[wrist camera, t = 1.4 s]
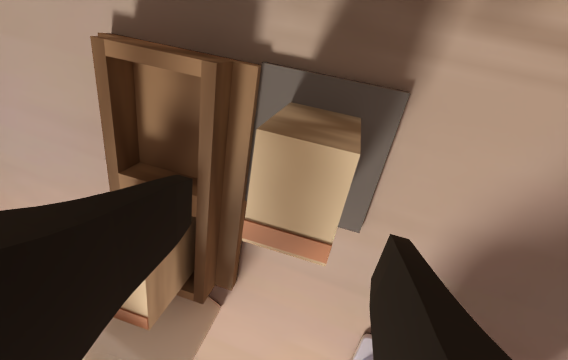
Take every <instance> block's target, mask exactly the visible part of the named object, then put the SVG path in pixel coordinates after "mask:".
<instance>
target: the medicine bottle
mask: <svg viewBox="0 0 568 360" xmlns="http://www.w3.org/2000/svg"><path fill="white" fill-rule="evenodd" d="M220 308H221V307H220V305H219V304H218V303H216V302H215V301H214V300H212V299H211V298H210V297H209V296H208V297H207V299H206V301H205V302H204V304H200V303H197V302H194V301H191V300H189V299H186V298H183V297H180V296H177V295H176V296H175V297H174V299H173V300H172V301H171V303H170V304H169V305H168V307H167V308H166V309H165V311H164V312H163V313H162V315H161V316H160V317H159V319H158V320H157V321H156V323H155V324H154V325H153V327H152V328H151V329H150V331H148V330H145V329H142V328H140V327H137V326H134V325H132V324H129V323H126V322H124V321H121V320H118V319H116V318H112V320H111V321H110V322H109V323H108V325H107V326H106V327H105V329H104V330H103V331H102V333H101V334H100V336H99V337H98V338H97V340H96V341H95V343H94V344H93V345H92V347H91V348H90V349H89V351H88V352H87V354H86V355H85V356H84V358H83V359H82V360H193V359H194V357H195V355H196V354H197V352H198V350H199V348H200V346H201V344H202V342H203V341H204V339H205V337H206V335H207V333H208V331H209V330H210V328H211V326H212V324H213V322H214V320H215V318H216V317H217V315H218V313H219V311H220Z"/></svg>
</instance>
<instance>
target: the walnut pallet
mask: <svg viewBox="0 0 568 360" xmlns="http://www.w3.org/2000/svg"><path fill="white" fill-rule="evenodd" d="M90 37H91V45H92V53H93V61H94V69H95V77H96V84H97V92H98V100H99V108H100V116H101V124H102V131H103V139H104V147H105V155H106V163H107V171H108V179H109V186H110V192H111V191H115V190H119V189H123V188H126V187H130V186H134V185H137V184H141V183H145V182H148V181H152V180H156V179H159V178H163V177H167V176H172V175H181V176H185V177H188V178H192V179H193V184H192V216H193V217H196V239H195V268H194V272H193V273H192V274H191V276H190V277H189V278H188V280H187V281H186V282H185V284H184V285H183V286H182V288H181V289H180V290H179V292H178V293H177V296H180V297H183V298H186V299H189V300H191V301H194V302H197V303H200V304H204V302H205V301H206V299H207V297H208V296H209V294H210V292H211V291H212V289H213V288H214V286H215V285H216V286H219V287H222V288H225V289H228V290H231V291H232V289H233V287H234V285H235V283H236V280H237V272H238V264H239V257H240V249H241V241H242V232H243V225H244V218H245V210H246V202H247V201H245V193H246V185H247V177H248V169H249V161H250V153H251V145H252V136H253V128H254V120H255V112H256V104H257V96H258V88H259V80H260V72H261V65H258V64H253V63H249V62H244V61H239V60H234V59H230V58H225V57H220V56H215V55H211V54H206V53H201V52H197V51H192V50H187V49H182V48H178V47H173V46H168V45H163V44H159V43H154V42H149V41H144V40H140V39H135V38H130V37H125V36H121V35H116V34H111V33H98V36H90Z"/></svg>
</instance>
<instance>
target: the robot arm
mask: <svg viewBox="0 0 568 360" xmlns="http://www.w3.org/2000/svg"><path fill="white" fill-rule="evenodd" d="M192 184H193V179H192V178H188V177H185V176H181V175H172V176H167V177H163V178H159V179H156V180H152V181H148V182H145V183H141V184H137V185H134V186H130V187H126V188H123V189H119V190H115V191H111V192H107V193H103V194H98V195H94V196H90V197H86V198H81V199H77V200H71V201H66V202H61V203H55V204H49V205H43V206H36V207H28V208H20V209H12V210H3V211H0V360H82V359H83V358H84V356H85V355H86V354H87V352H88V351H89V349H90V348H91V347H92V345H93V344H94V343H95V341H96V340H97V338H98V337H99V336H100V334H101V333H102V331H103V330H104V329H105V327H106V326H107V325H108V323H109V322H110V321H111V320H112V318H113V317H114V316H115V314H116V313H117V312H118V310H119V309H120V308H121V306H122V305H123V304H124V303H125V301H126V300H127V299H128V298H129V297H130V296H131V294H132V293H133V292H134V291H135V290H136V289H137V288H138V287H139V286H140V285H141V283H142V282H143V281H144V280H145V279H146V278H147V277H148V276H149V275H150V274H151V273H152V272H153V271H154V269H155V268H156V267H157V266H158V265H159V264H160V263H161V262H162V261H163V260H164V259H165V258H166V256H167V255H168V254H169V253H170V252H171V251H172V250H173V249H174V248H175V247H176V245H177V244H178V243H179V241H180V240H181V239H182V237H183V236H184V234H185V233H186V231H187V230H188V228H189V227H190V225H191V224H192ZM370 320H371V334H365V335H363V336H362V338H361V341H360V343H359V345H358V347H357V349H356V351H355V353H354V356H353V358H352V360H512V359H511V358H510V357H509V356H508V355H507V354H506V353H505V352H504V351H503V350H502V349H501V348H500V347H499V346H498V345H497V344H496V343H495V342H494V341H493V340H492V339H491V338H490V337H489V336H488V335H487V334H486V333H485V332H484V331H483V330H482V328H481V327H480V326H479V325H478V324H477V323H476V322H475V321H474V320H473V319H472V317H471V316H470V315H469V314H468V313H467V312H466V310H465V309H464V308H463V307H462V306H461V305H460V304H459V302H458V301H457V300H456V299H455V298H454V296H453V295H452V294H451V293H450V292H449V290H448V289H447V288H446V287H445V285H444V284H443V283H442V281H441V280H440V279H439V278H438V276H437V275H436V274H435V272H434V271H433V270H432V269H431V267H430V266H429V265H428V263H427V262H426V261H425V259H424V258H423V257H422V255H421V254H420V253H419V251H418V250H417V249H416V247H415V246H414V245H413V243H412V242H411V241H410V240H409V239H406V238H402V237H399V236H395V235H392V234H390V236H389V238H388V241H387V243H386V245H385V248H384V250H383V252H382V255H381V257H380V259H379V262H378V264H377V266H376V269H375V271H374V273H373V276H372V278H371V290H370Z"/></svg>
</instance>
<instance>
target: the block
mask: <svg viewBox="0 0 568 360" xmlns="http://www.w3.org/2000/svg"><path fill="white" fill-rule="evenodd" d="M195 239H196V217H193V216H192V224H191V225H190V227H189V228H188V230H187V231H186V233H185V234H184V236H183V237H182V239H181V240H180V241H179V243H178V244H177V245H176V247H175V248H174V249H173V250H172V251H171V252H170V253H169V254H168V255H167V256H166V258H165V259H164V260H163V261H162V262H161V263H160V264H159V265H158V266H157V267H156V268H155V269H154V271H153V272H152V273H151V274H150V275H149V276H148V277H147V278H146V279H145V280H144V281H143V282H142V283H141V285H140V286H139V287H138V288H137V289H136V290H135V291H134V292H133V293H132V294H131V296H130V297H129V298H128V299H127V300H126V301H125V303H124V304H123V305H122V306H121V308H120V309H119V310H118V312H117V313H116V314H115V316H114V317H113V318H116V319H118V320H121V321H124V322H126V323H129V324H132V325H134V326H137V327H140V328H142V329H145V330H148V331H150V329H151V328H152V327H153V325H154V324H155V323H156V321H157V320H158V319H159V317H160V316H161V315H162V313H163V312H164V311H165V309H166V308H167V307H168V305H169V304H170V303H171V301H172V300H173V299H174V297H175V296H176V295H177V293H178V292H179V290H180V289H181V288H182V286H183V285H184V284H185V282H186V281H187V280H188V278H189V277H190V276H191V274H192V273H193V272H194V268H195Z"/></svg>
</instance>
